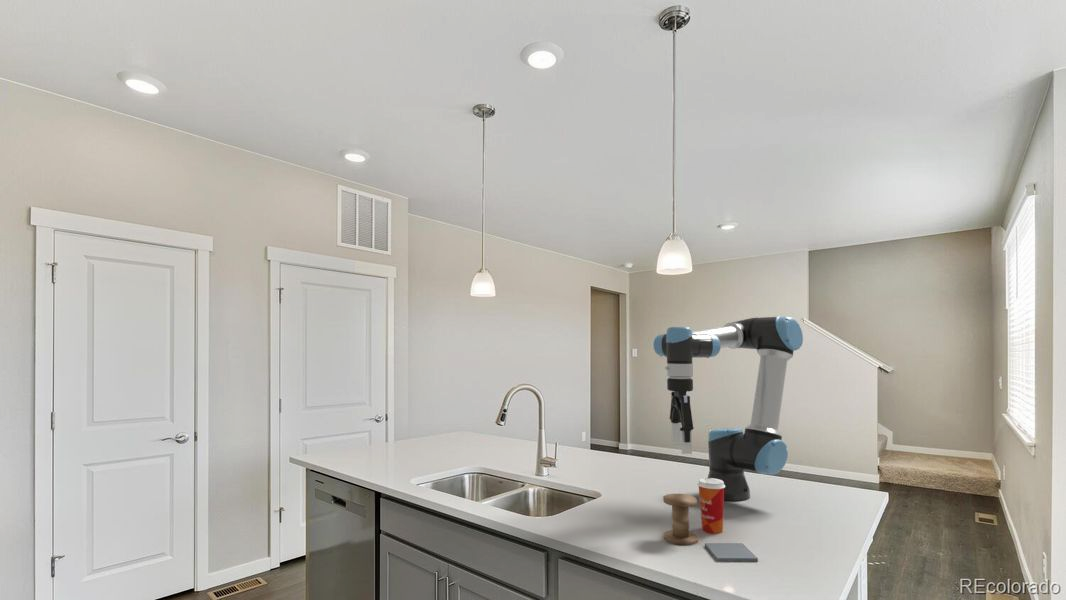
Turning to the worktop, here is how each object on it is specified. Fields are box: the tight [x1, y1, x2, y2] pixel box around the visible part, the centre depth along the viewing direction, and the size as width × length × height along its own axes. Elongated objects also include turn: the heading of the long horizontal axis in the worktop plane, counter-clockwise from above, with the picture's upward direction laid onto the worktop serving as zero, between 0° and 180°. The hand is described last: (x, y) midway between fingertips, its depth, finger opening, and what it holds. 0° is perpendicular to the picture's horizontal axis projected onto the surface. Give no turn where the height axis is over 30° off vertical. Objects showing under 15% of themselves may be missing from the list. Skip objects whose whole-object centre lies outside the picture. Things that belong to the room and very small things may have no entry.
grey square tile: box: [704, 542, 759, 563], centre depth 138 cm, size 10×10×1 cm
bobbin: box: [662, 493, 699, 546], centre depth 149 cm, size 9×9×11 cm
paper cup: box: [697, 477, 725, 535], centre depth 156 cm, size 8×8×14 cm
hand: (681, 448), depth 162 cm, fingers open, 13 cm apart
